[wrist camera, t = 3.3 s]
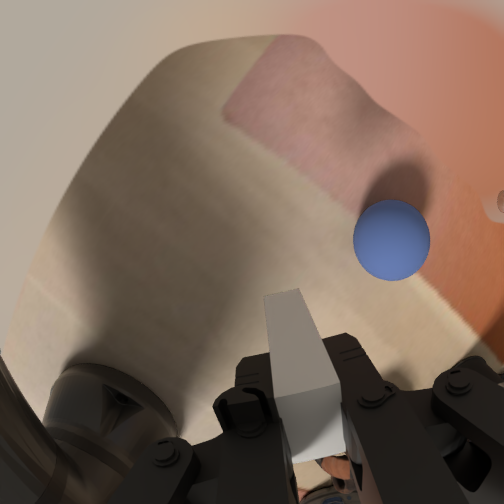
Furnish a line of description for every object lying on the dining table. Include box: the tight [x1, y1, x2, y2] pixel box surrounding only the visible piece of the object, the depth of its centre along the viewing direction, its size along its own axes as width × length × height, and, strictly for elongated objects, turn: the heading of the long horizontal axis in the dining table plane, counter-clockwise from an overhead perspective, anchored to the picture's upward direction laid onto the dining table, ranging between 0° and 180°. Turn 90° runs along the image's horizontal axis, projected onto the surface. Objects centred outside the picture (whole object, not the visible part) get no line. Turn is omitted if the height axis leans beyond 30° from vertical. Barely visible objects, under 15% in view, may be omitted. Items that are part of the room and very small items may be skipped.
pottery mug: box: [315, 444, 357, 494], centre depth 26 cm, size 12×10×8 cm
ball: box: [353, 200, 430, 281], centre depth 20 cm, size 6×6×6 cm
